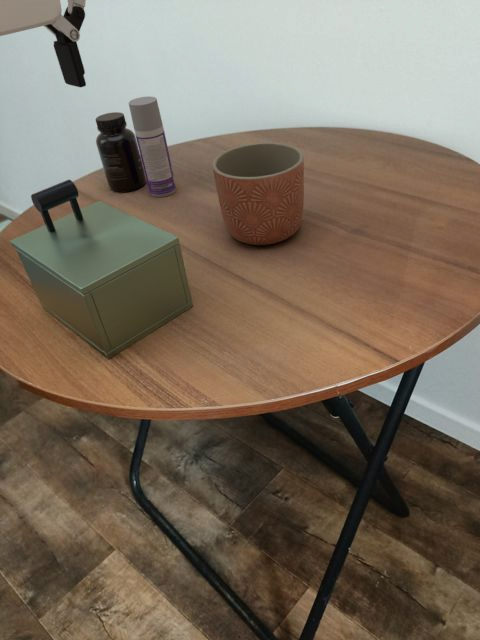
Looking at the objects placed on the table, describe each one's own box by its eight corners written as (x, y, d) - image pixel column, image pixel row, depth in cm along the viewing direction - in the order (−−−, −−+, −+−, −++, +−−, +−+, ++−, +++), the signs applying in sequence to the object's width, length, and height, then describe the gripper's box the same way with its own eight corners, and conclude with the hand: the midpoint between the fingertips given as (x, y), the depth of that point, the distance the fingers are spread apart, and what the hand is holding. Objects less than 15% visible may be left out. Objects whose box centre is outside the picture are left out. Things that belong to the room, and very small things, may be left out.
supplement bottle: (154, 182, 95) (138, 113, 87) (123, 196, 91) (103, 126, 84) (132, 174, 99) (114, 107, 91) (102, 187, 95) (81, 119, 87)
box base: (43, 308, 67) (15, 249, 62) (123, 265, 74) (105, 208, 68) (108, 359, 58) (83, 295, 53) (193, 306, 65) (179, 243, 59)
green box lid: (12, 246, 62) (-9, 202, 58) (101, 206, 68) (88, 164, 65) (83, 295, 53) (64, 246, 49) (179, 243, 59) (169, 196, 55)
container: (155, 185, 94) (134, 96, 84) (179, 185, 93) (161, 95, 83) (146, 197, 90) (122, 106, 80) (171, 197, 89) (151, 105, 79)
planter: (293, 257, 71) (288, 180, 64) (210, 249, 75) (197, 175, 68) (315, 214, 80) (313, 143, 73) (240, 209, 83) (231, 140, 76)
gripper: (29, -134, 47) (88, 72, 59) (-183, -121, 39) (-66, 118, 50) (72, -145, 43) (126, 80, 54) (-155, -132, 35) (-35, 132, 46)
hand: (34, 98), depth 52 cm, fingers open, 9 cm apart
